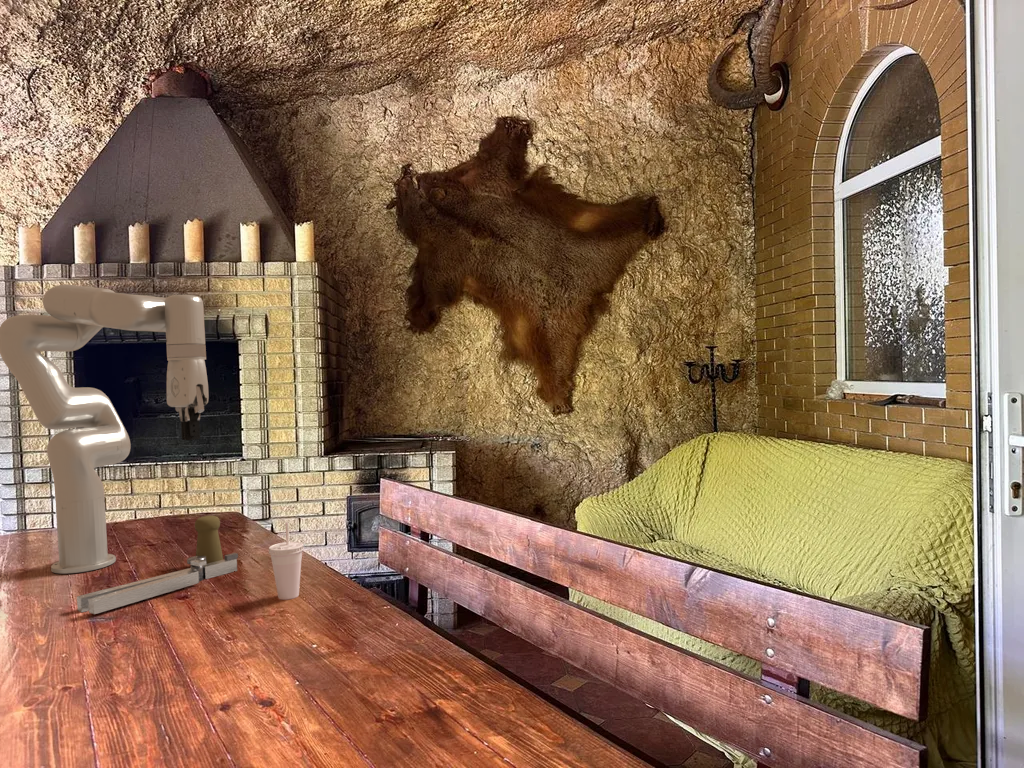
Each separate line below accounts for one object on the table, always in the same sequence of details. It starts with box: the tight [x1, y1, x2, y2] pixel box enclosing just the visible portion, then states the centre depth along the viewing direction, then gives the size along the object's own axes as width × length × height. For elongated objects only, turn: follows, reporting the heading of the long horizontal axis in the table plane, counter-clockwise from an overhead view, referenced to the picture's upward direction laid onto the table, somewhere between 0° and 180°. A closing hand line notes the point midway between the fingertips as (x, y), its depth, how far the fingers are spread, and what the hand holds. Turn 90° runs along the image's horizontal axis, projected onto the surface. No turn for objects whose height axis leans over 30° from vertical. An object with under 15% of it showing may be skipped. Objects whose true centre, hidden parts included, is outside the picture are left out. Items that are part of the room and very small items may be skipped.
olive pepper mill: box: [194, 515, 224, 564], centre depth 155 cm, size 6×6×11 cm
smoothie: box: [268, 521, 305, 601], centre depth 131 cm, size 6×6×14 cm
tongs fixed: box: [76, 552, 239, 613], centre depth 139 cm, size 2×31×4 cm, turn 140°
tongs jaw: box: [88, 555, 206, 615], centre depth 135 cm, size 6×24×4 cm, turn 146°
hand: (191, 439), depth 148 cm, fingers closed
